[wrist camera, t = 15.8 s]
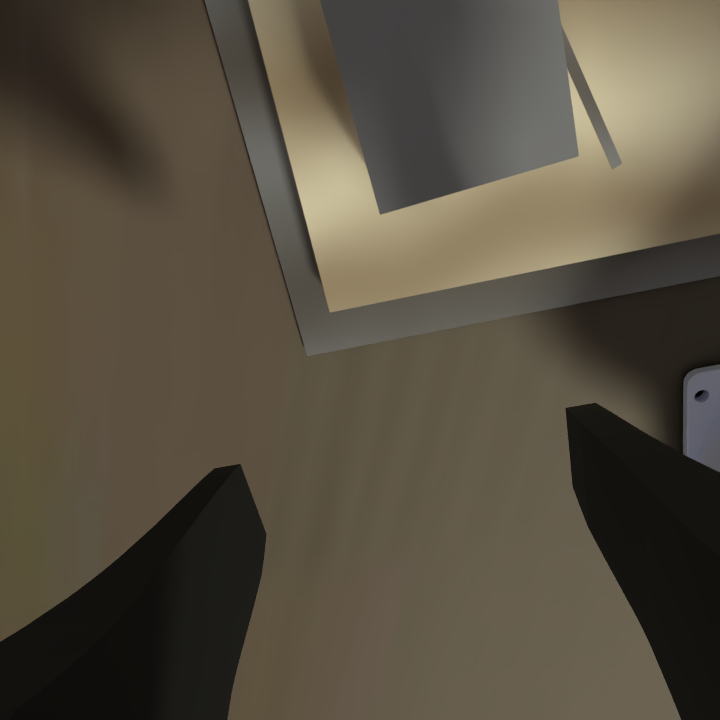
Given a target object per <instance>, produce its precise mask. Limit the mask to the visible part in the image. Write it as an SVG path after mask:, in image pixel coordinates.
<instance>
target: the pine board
mask: <svg viewBox="0 0 720 720" xmlns="http://www.w3.org/2000/svg"><path fill="white" fill-rule="evenodd" d="M205 4H206V7H207V11H208V14H209V18H210V21H211V25H212V28H213V32H214V35H215V39H216V42H217V46H218V49H219V52H220V56H221V59H222V63H223V66H224V70H225V73H226V77H227V80H228V84H229V87H230V91H231V94H232V97H233V101H234V104H235V108H236V111H237V115H238V118H239V122H240V125H241V129H242V132H243V136H244V139H245V142H246V146H247V149H248V153H249V156H250V160H251V163H252V167H253V170H254V174H255V177H256V181H257V184H258V188H259V191H260V194H261V198H262V201H263V205H264V208H265V212H266V215H267V219H268V222H269V226H270V229H271V233H272V236H273V239H274V243H275V246H276V250H277V253H278V257H279V260H280V264H281V267H282V271H283V274H284V278H285V281H286V284H287V288H288V291H289V295H290V298H291V302H292V305H293V309H294V312H295V316H296V319H297V323H298V326H299V330H300V333H301V336H302V340H303V343H304V347H305V350H306V354H307V356H311V355H316V354H321V353H326V352H332V351H337V350H342V349H347V348H352V347H357V346H363V345H368V344H373V343H378V342H383V341H388V340H393V339H399V338H404V337H409V336H414V335H419V334H424V333H430V332H435V331H440V330H445V329H450V328H455V327H461V326H466V325H471V324H476V323H481V322H486V321H491V320H497V319H502V318H507V317H512V316H517V315H522V314H528V313H533V312H538V311H543V310H548V309H553V308H559V307H564V306H569V305H574V304H579V303H584V302H590V301H595V300H600V299H605V298H610V297H615V296H620V295H626V294H631V293H636V292H641V291H646V290H651V289H657V288H662V287H667V286H672V285H677V284H682V283H688V282H693V281H698V280H703V279H708V278H713V277H719V276H720V0H558V4H559V12H560V19H561V26H562V34H563V41H564V49H565V56H566V63H567V71H568V78H569V86H570V93H571V100H572V108H573V115H574V123H575V130H576V137H577V145H578V152H579V156H578V157H575V158H572V159H568V160H565V161H561V162H558V163H555V164H551V165H548V166H544V167H541V168H538V169H534V170H531V171H527V172H524V173H521V174H517V175H514V176H511V177H507V178H504V179H500V180H497V181H494V182H490V183H487V184H483V185H480V186H477V187H473V188H470V189H466V190H463V191H460V192H456V193H453V194H449V195H446V196H443V197H439V198H436V199H433V200H429V201H426V202H422V203H419V204H416V205H412V206H409V207H405V208H402V209H399V210H395V211H392V212H388V213H385V214H382V215H380V213H379V210H378V206H377V202H376V199H375V195H374V192H373V188H372V185H371V181H370V177H369V174H368V170H367V167H366V163H365V160H364V156H363V152H362V149H361V145H360V142H359V138H358V135H357V131H356V127H355V124H354V120H353V117H352V113H351V110H350V106H349V102H348V99H347V95H346V92H345V88H344V85H343V81H342V77H341V74H340V70H339V67H338V63H337V60H336V56H335V52H334V49H333V45H332V42H331V38H330V35H329V31H328V27H327V24H326V20H325V17H324V13H323V10H322V6H321V2H320V0H205Z"/></svg>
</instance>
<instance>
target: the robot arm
mask: <svg viewBox="0 0 720 720" xmlns="http://www.w3.org/2000/svg"><path fill="white" fill-rule="evenodd" d="M701 390H704V392H703V394H702V395H701V396H699V397H695V394H696V393H697V392H698V391H701ZM566 417H567V429H568V440H569V451H570V462H571V473H572V484H573V489H574V491H575V494H576V497H577V499H578V502H579V505H580V507H581V510H582V512H583V515H584V518H585V520H586V523H587V525H588V528H589V530H590V531H591V533H592V535H593V537H594V539H595V541H596V543H597V545H598V547H599V548H600V550H601V552H602V554H603V556H604V558H605V560H606V561H607V563H608V565H609V567H610V569H611V571H612V572H613V574H614V576H615V578H616V580H617V582H618V583H619V585H620V587H621V589H622V591H623V593H624V594H625V596H626V598H627V600H628V602H629V604H630V605H631V607H632V609H633V611H634V613H635V615H636V616H637V618H638V620H639V622H640V624H641V626H642V628H643V630H644V632H645V635H646V637H647V639H648V641H649V643H650V645H651V648H652V650H653V652H654V655H655V657H656V659H657V662H658V664H659V667H660V669H661V671H662V674H663V676H664V678H665V681H666V683H667V686H668V688H669V690H670V693H671V695H672V698H673V700H674V703H675V705H676V708H677V710H678V713H679V715H680V718H681V720H720V364H719V365H714V366H708V367H702V368H697V369H694V370H692V371H690V372H689V373H688V374H687V375H686V376H685V378H684V382H683V454H682V453H680V452H678V451H676V450H674V449H673V448H671V447H669V446H667V445H665V444H663V443H662V442H660V441H658V440H656V439H655V438H653V437H651V436H649V435H648V434H646V433H644V432H643V431H641V430H639V429H638V428H636V427H634V426H633V425H631V424H630V423H628V422H626V421H625V420H623V419H621V418H620V417H618V416H617V415H615V414H613V413H612V412H610V411H608V410H607V409H605V408H603V407H602V406H600V405H598V404H597V403H592V404H586V405H580V406H575V407H569V408H566ZM265 542H266V532H265V529H264V526H263V524H262V521H261V518H260V516H259V513H258V510H257V508H256V505H255V502H254V500H253V497H252V494H251V492H250V489H249V486H248V483H247V481H246V478H245V475H244V473H243V470H242V467H241V465H240V464H238V465H232V466H226V467H220V468H215V469H214V470H212V471H211V472H210V473H209V474H208V475H206V476H205V477H204V478H203V479H202V480H201V481H200V482H199V483H198V484H197V485H196V486H195V487H194V488H193V489H192V490H191V491H190V492H189V493H188V494H187V495H186V496H185V497H184V498H183V499H181V500H180V501H179V502H178V503H177V504H176V505H175V506H174V507H173V508H172V509H171V510H170V511H169V512H168V513H167V514H166V515H165V516H164V517H163V518H162V519H161V520H160V521H159V522H158V523H157V524H156V525H155V526H154V527H153V528H152V529H150V530H149V531H148V532H147V533H146V534H145V535H144V536H143V537H142V538H140V539H139V540H138V541H137V542H136V543H135V544H134V545H133V546H132V547H130V548H129V549H128V550H127V551H126V552H125V553H124V554H123V555H122V556H121V557H119V558H118V559H117V560H116V561H115V562H113V563H112V564H111V565H110V566H109V567H107V568H106V569H105V570H104V571H102V572H101V573H100V574H99V575H97V576H96V577H95V578H94V579H92V580H91V581H90V582H88V583H87V584H86V585H84V586H83V587H82V588H81V589H79V590H78V591H77V592H75V593H74V594H72V595H71V596H70V597H68V598H67V599H65V600H64V601H62V602H61V603H59V604H58V605H56V606H55V607H54V608H52V609H51V610H49V611H48V612H46V613H45V614H43V615H42V616H40V617H39V618H37V619H36V620H34V621H33V622H31V623H30V624H28V625H27V626H25V627H24V628H22V629H21V630H19V631H17V632H16V633H14V634H12V635H11V636H9V637H7V638H6V639H4V640H3V641H1V642H0V720H227V717H228V711H229V705H230V699H231V693H232V688H233V684H234V679H235V675H236V670H237V666H238V663H239V659H240V655H241V651H242V648H243V644H244V640H245V637H246V633H247V629H248V625H249V622H250V618H251V614H252V610H253V607H254V603H255V599H256V595H257V591H258V587H259V583H260V579H261V575H262V568H263V560H264V552H265Z"/></svg>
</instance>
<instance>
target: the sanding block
mask: <svg viewBox="0 0 720 720" xmlns="http://www.w3.org/2000/svg"><path fill="white" fill-rule="evenodd" d="M320 2H321V6H322V10H323V13H324V17H325V20H326V24H327V27H328V31H329V35H330V38H331V42H332V45H333V49H334V52H335V56H336V60H337V63H338V67H339V70H340V74H341V77H342V81H343V85H344V88H345V92H346V95H347V99H348V102H349V106H350V110H351V113H352V117H353V120H354V124H355V127H356V131H357V135H358V138H359V142H360V145H361V149H362V152H363V156H364V160H365V163H366V167H367V170H368V174H369V177H370V181H371V185H372V188H373V192H374V195H375V199H376V202H377V206H378V210H379V213H380V215H382V214H385V213H388V212H392V211H395V210H399V209H402V208H405V207H409V206H412V205H416V204H419V203H422V202H426V201H429V200H433V199H436V198H439V197H443V196H446V195H449V194H453V193H456V192H460V191H463V190H466V189H470V188H473V187H477V186H480V185H483V184H487V183H490V182H494V181H497V180H500V179H504V178H507V177H511V176H514V175H517V174H521V173H524V172H527V171H531V170H534V169H538V168H541V167H544V166H548V165H551V164H555V163H558V162H561V161H565V160H568V159H572V158H575V157H578V156H579V152H578V145H577V137H576V130H575V123H574V115H573V108H572V100H571V93H570V86H569V78H568V71H567V63H566V56H565V49H564V41H563V34H562V26H561V19H560V12H559V4H558V0H320Z"/></svg>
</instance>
